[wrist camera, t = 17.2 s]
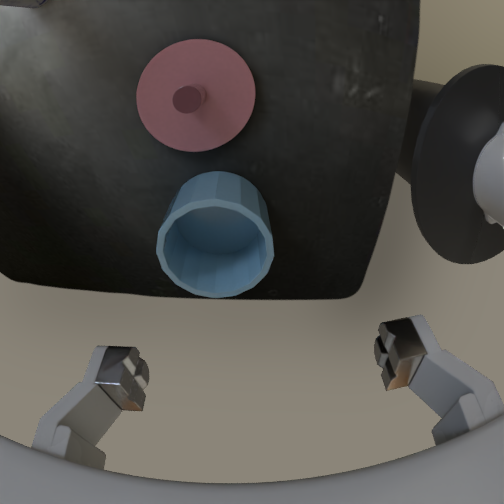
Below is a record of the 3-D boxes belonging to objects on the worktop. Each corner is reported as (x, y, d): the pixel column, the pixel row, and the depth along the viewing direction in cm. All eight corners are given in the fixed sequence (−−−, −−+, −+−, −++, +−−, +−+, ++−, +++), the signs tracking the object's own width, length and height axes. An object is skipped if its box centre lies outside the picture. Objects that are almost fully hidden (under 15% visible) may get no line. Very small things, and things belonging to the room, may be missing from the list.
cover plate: (247, 31, 26) (248, 23, 21) (261, 140, 34) (265, 154, 29) (130, 56, 27) (110, 54, 22) (152, 158, 34) (137, 175, 29)
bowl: (261, 164, 35) (267, 191, 28) (271, 250, 43) (277, 290, 36) (160, 180, 36) (142, 210, 29) (183, 261, 43) (174, 302, 36)
